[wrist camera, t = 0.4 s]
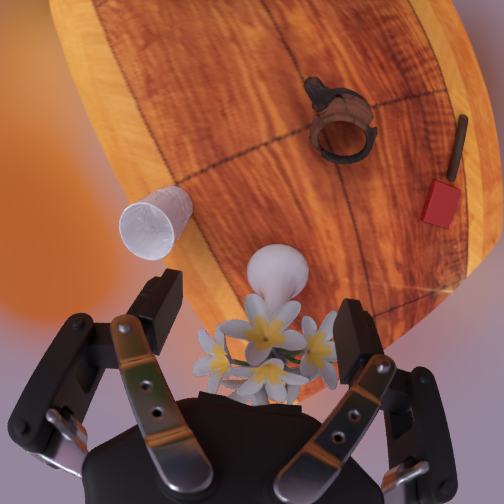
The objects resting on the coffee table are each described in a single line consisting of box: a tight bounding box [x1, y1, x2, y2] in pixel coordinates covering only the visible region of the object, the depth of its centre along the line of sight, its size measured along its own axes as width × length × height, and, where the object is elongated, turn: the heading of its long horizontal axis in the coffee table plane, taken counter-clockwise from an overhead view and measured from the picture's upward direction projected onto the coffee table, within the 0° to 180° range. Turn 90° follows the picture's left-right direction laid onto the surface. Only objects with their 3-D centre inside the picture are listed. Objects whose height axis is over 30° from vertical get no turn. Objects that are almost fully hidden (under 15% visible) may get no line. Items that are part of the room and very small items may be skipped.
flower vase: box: [193, 244, 337, 406], centre depth 32 cm, size 13×18×25 cm
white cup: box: [119, 185, 193, 260], centre depth 36 cm, size 8×8×10 cm
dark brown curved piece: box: [304, 77, 377, 164], centre depth 30 cm, size 12×10×8 cm
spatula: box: [421, 114, 468, 229], centre depth 32 cm, size 19×6×2 cm, turn 172°
